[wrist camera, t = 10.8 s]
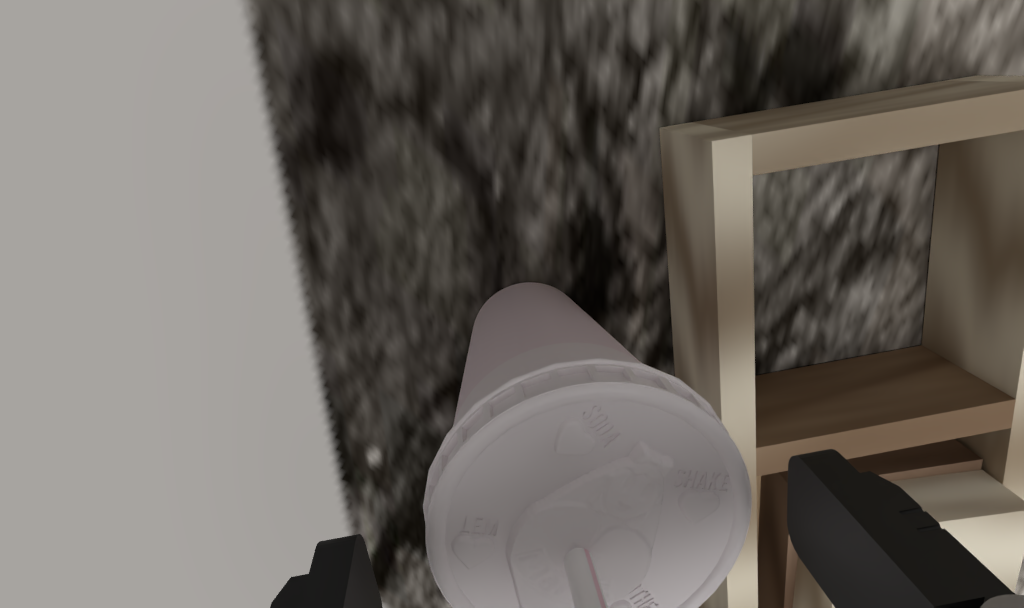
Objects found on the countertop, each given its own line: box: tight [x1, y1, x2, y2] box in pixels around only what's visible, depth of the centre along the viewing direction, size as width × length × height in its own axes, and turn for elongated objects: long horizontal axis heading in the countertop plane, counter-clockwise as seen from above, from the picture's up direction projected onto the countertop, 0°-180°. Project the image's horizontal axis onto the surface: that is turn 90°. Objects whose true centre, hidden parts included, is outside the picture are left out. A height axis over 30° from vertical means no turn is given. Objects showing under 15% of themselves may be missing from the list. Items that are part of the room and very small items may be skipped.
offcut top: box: [793, 470, 1024, 608], centre depth 21 cm, size 8×6×2 cm
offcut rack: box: [659, 75, 1024, 608], centre depth 21 cm, size 22×10×4 cm, turn 8°
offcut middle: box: [757, 439, 983, 608], centre depth 23 cm, size 8×6×2 cm
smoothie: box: [423, 282, 752, 608], centre depth 14 cm, size 6×6×14 cm
